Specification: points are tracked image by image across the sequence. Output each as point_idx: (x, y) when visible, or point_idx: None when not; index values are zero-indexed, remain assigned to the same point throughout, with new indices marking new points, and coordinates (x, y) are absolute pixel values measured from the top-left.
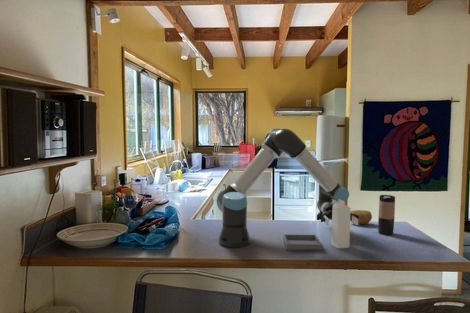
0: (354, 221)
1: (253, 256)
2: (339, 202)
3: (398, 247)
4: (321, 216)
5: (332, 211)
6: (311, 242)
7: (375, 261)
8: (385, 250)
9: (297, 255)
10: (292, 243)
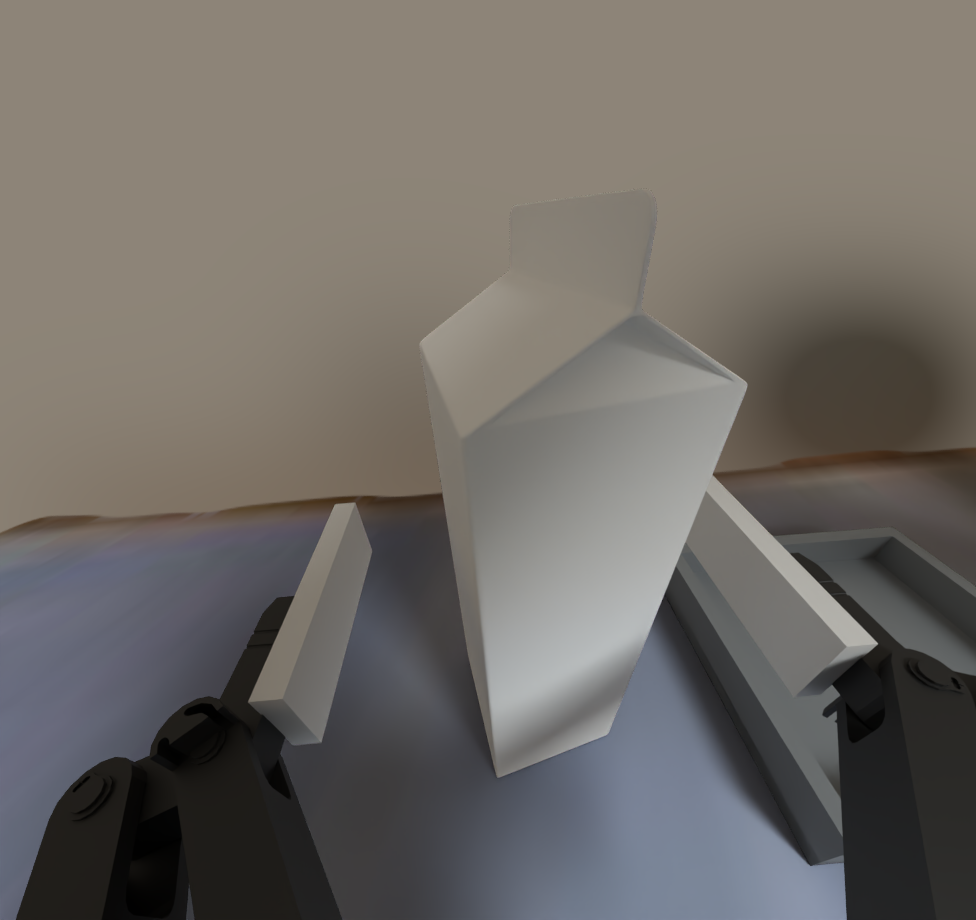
0: (349, 593)
1: (954, 480)
2: (599, 297)
3: (52, 717)
4: (913, 662)
5: (700, 485)
6: (795, 705)
7: (405, 497)
8: (233, 634)
9: (763, 509)
10: (936, 654)
